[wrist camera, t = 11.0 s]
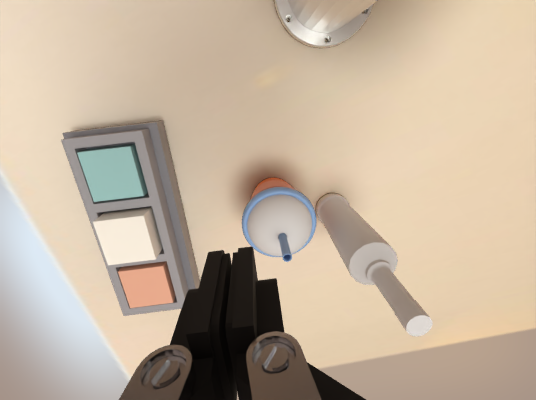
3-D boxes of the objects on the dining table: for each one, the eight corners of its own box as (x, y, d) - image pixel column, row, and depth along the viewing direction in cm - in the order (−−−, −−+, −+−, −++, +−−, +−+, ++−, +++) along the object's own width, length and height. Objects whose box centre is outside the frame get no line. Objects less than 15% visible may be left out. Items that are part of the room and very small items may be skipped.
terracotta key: (126, 260, 43) (117, 271, 40) (168, 255, 43) (163, 266, 40) (137, 295, 45) (130, 308, 42) (177, 289, 45) (173, 302, 42)
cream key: (104, 212, 38) (92, 221, 35) (151, 207, 38) (143, 215, 35) (117, 253, 40) (107, 265, 38) (162, 248, 40) (155, 259, 38)
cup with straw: (309, 210, 45) (345, 278, 28) (257, 231, 46) (261, 309, 29) (290, 158, 42) (317, 198, 25) (234, 181, 43) (223, 235, 26)
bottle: (323, 227, 46) (399, 361, 23) (309, 201, 44) (375, 317, 21) (351, 212, 45) (460, 334, 22) (338, 185, 44) (441, 286, 20)
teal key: (90, 148, 37) (77, 152, 34) (139, 142, 37) (130, 146, 34) (105, 194, 39) (94, 201, 36) (151, 188, 39) (143, 195, 36)
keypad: (76, 130, 39) (49, 135, 34) (163, 120, 39) (149, 123, 34) (131, 296, 48) (117, 320, 43) (201, 287, 49) (195, 310, 43)
